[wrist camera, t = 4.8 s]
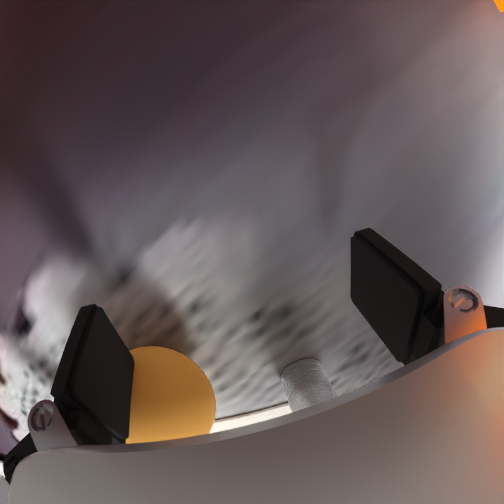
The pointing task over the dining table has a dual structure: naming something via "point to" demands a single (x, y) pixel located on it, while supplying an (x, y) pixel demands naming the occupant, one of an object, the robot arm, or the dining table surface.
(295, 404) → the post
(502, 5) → the orange juice
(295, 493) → the robot arm
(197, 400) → the ball
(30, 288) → the dining table surface
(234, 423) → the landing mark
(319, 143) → the dining table surface
